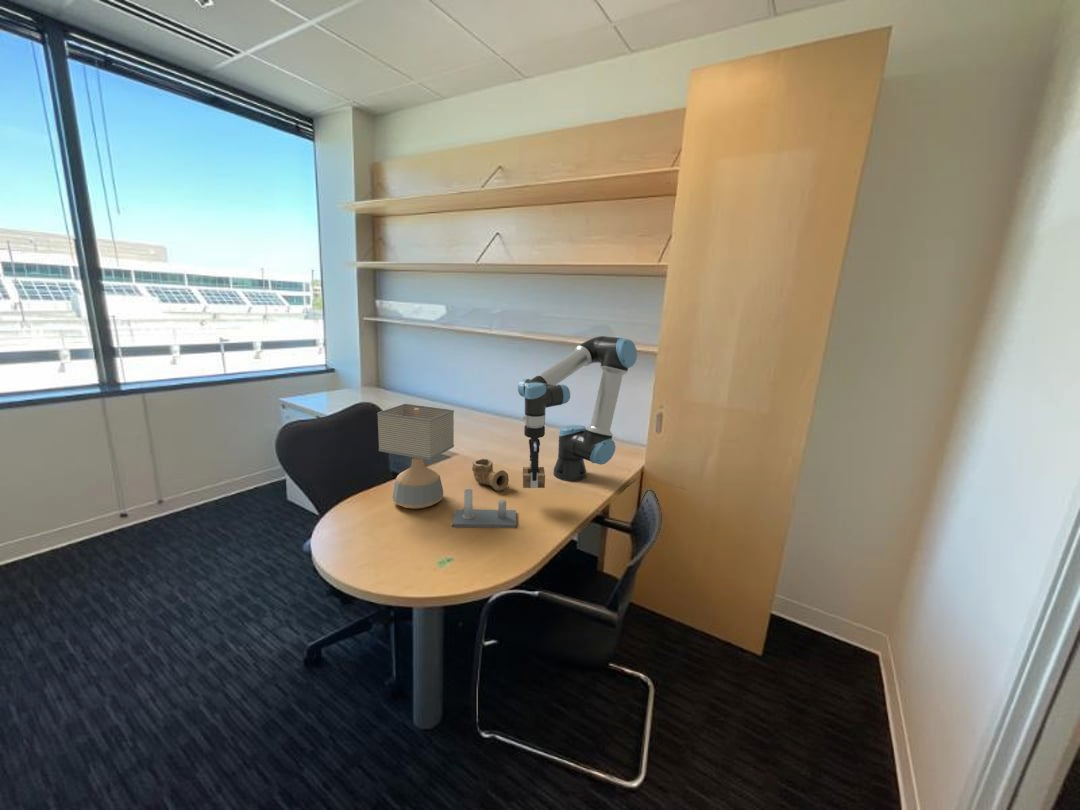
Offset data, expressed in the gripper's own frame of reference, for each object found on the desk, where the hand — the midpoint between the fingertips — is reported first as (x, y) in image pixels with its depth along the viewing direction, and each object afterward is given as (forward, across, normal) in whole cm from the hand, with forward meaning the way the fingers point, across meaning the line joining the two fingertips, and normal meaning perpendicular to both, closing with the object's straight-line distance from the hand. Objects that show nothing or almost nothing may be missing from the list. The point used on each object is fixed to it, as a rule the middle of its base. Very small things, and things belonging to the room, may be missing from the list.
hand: (533, 482), depth 163 cm
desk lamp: (+9, -3, -44) cm, 45 cm away
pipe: (+10, -19, -18) cm, 28 cm away
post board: (+9, +11, -18) cm, 23 cm away
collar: (0, 0, 0) cm, 0 cm away
